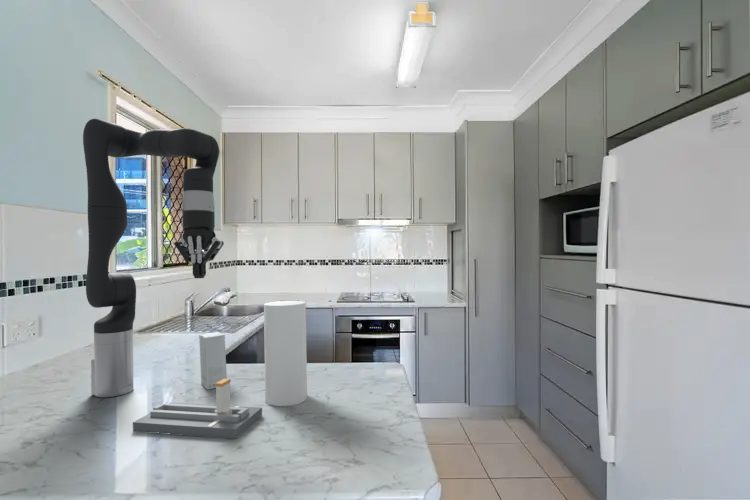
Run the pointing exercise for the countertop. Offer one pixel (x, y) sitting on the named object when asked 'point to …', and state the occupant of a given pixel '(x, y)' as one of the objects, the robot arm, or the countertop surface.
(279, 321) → the tall pillar cylinder
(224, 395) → the fader tab
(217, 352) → the skincare box
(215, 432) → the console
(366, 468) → the countertop surface
